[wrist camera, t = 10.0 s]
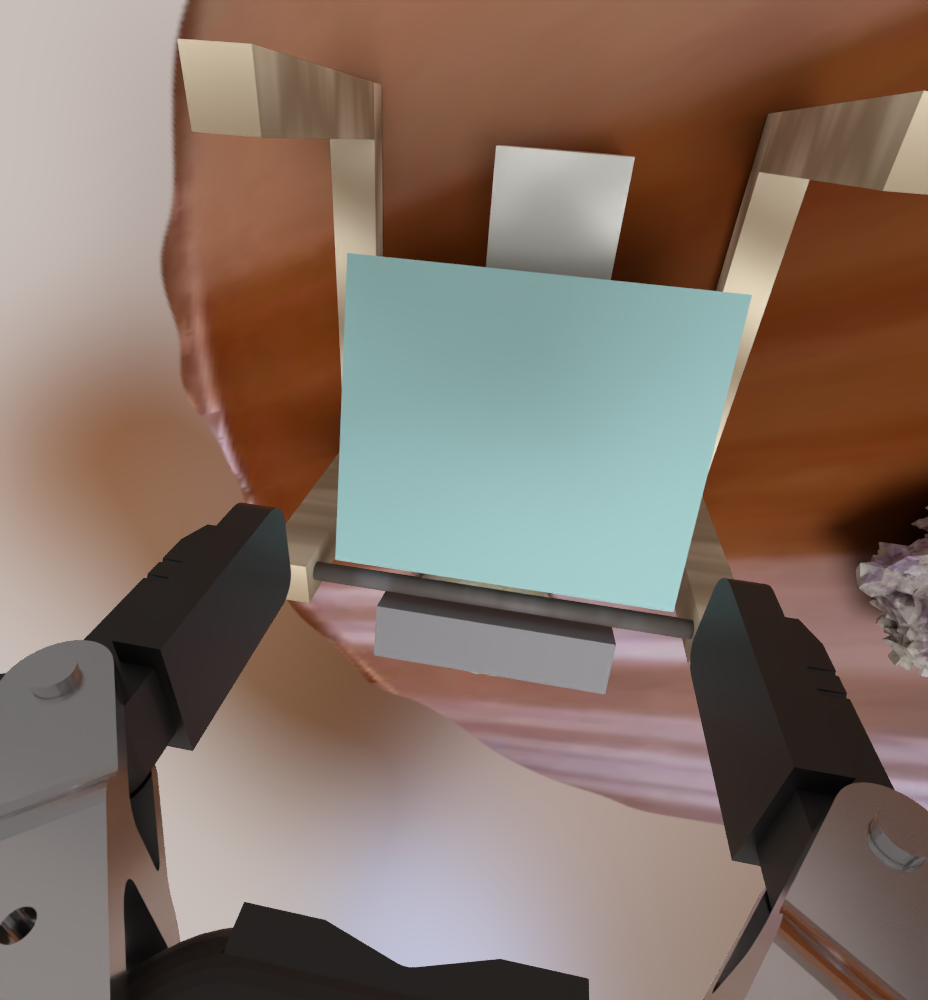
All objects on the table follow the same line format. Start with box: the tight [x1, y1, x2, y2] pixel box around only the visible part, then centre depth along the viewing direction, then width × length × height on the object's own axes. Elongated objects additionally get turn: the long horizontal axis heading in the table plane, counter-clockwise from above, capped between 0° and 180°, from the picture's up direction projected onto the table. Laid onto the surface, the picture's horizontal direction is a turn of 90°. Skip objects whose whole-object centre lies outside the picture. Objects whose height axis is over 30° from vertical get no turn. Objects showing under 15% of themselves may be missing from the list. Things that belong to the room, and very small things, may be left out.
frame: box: [177, 39, 928, 665], centre depth 24 cm, size 19×20×12 cm
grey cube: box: [486, 145, 635, 280], centre depth 24 cm, size 5×5×5 cm
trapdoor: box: [335, 253, 752, 694], centre depth 23 cm, size 16×14×2 cm
